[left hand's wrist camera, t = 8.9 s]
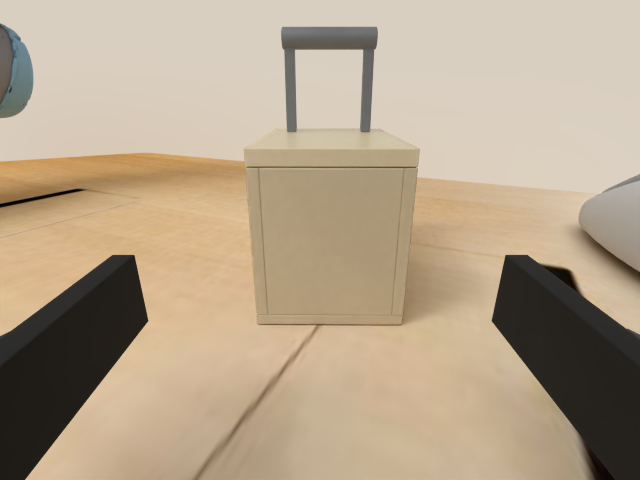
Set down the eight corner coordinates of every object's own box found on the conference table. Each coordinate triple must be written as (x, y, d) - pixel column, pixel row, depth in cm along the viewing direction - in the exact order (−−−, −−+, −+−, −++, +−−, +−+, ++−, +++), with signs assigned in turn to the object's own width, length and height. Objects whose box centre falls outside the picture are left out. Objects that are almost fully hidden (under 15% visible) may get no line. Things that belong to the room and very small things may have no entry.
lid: (276, 140, 31) (271, 34, 28) (379, 140, 31) (385, 34, 28) (244, 167, 18) (230, -19, 15) (418, 167, 18) (436, -19, 15)
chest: (280, 245, 34) (275, 141, 30) (374, 246, 34) (380, 141, 30) (257, 324, 22) (245, 167, 18) (402, 325, 22) (418, 168, 18)
